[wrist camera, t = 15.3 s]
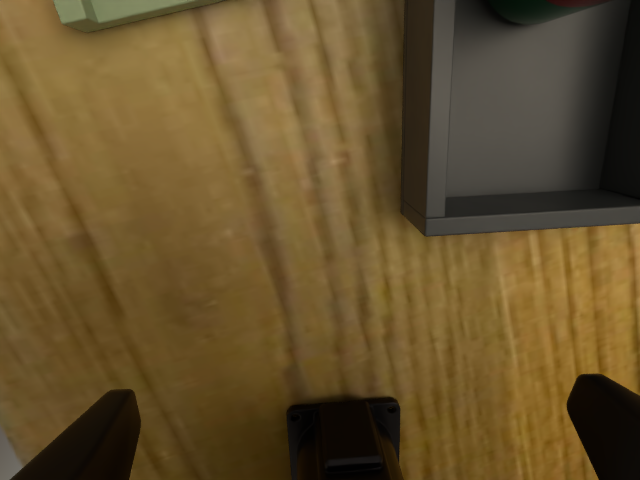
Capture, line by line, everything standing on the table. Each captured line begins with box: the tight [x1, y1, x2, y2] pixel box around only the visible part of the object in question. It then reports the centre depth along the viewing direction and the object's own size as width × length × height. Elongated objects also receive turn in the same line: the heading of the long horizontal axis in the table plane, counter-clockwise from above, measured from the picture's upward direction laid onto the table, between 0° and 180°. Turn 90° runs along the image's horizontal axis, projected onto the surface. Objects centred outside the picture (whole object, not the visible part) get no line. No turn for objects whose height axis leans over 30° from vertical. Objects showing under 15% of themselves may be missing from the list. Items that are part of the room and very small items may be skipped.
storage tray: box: [401, 0, 640, 237], centre depth 17 cm, size 16×11×4 cm
